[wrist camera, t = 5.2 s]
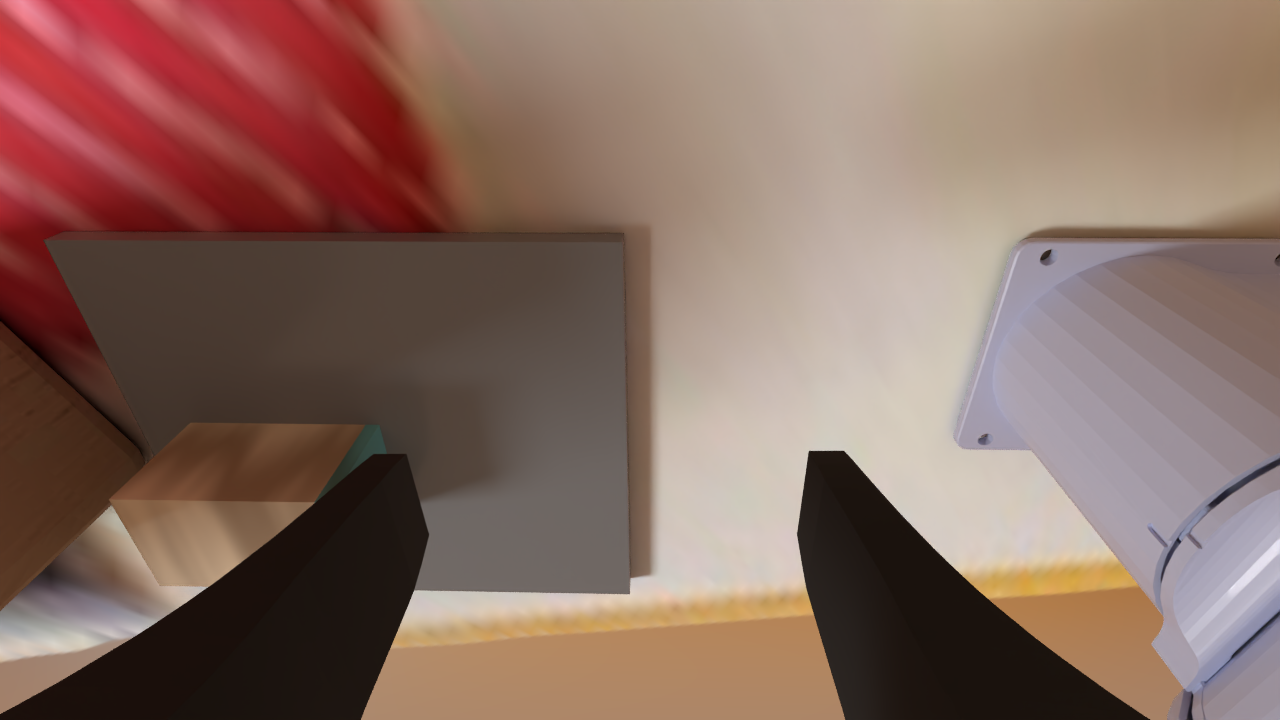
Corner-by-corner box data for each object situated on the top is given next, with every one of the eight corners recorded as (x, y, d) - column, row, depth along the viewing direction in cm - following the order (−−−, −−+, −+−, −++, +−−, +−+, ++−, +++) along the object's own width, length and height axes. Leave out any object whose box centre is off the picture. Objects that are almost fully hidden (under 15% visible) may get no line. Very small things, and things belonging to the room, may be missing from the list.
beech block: (330, 502, 19) (108, 499, 20) (360, 589, 22) (159, 585, 22) (379, 424, 23) (190, 422, 23) (401, 506, 25) (227, 503, 25)
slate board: (623, 233, 20) (622, 242, 19) (630, 579, 28) (629, 594, 27) (64, 231, 20) (42, 240, 20) (232, 572, 28) (222, 586, 28)
